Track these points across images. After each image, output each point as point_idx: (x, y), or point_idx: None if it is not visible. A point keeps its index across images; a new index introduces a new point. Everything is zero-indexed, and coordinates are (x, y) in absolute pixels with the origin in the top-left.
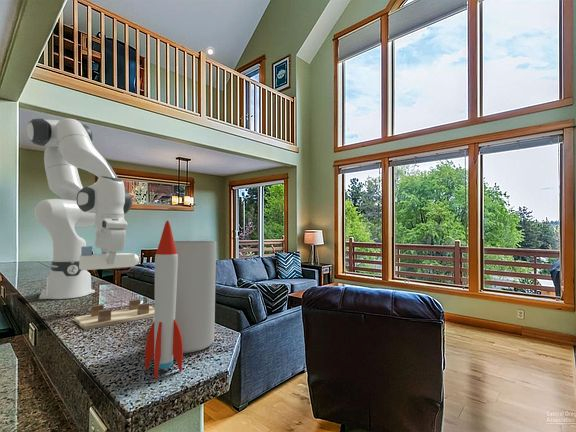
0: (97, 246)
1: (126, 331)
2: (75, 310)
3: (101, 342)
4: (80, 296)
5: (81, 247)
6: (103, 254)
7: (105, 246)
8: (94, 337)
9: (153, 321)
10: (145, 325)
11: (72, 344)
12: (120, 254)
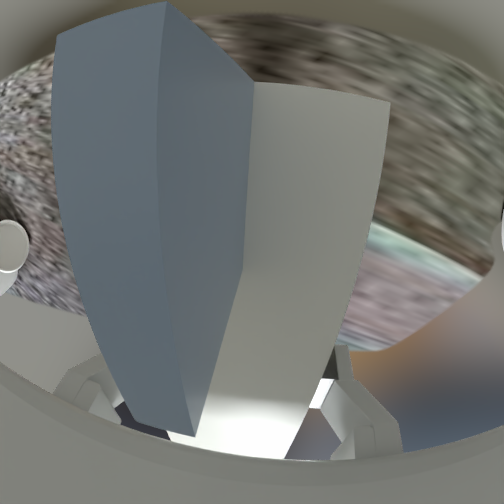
0: (470, 453)
1: (24, 172)
2: None
3: (3, 122)
4: (502, 225)
5: (182, 21)
6: (269, 399)
7: (65, 445)
8: (23, 112)
9: (2, 220)
10: (39, 216)
11: (17, 76)
12: (191, 445)
